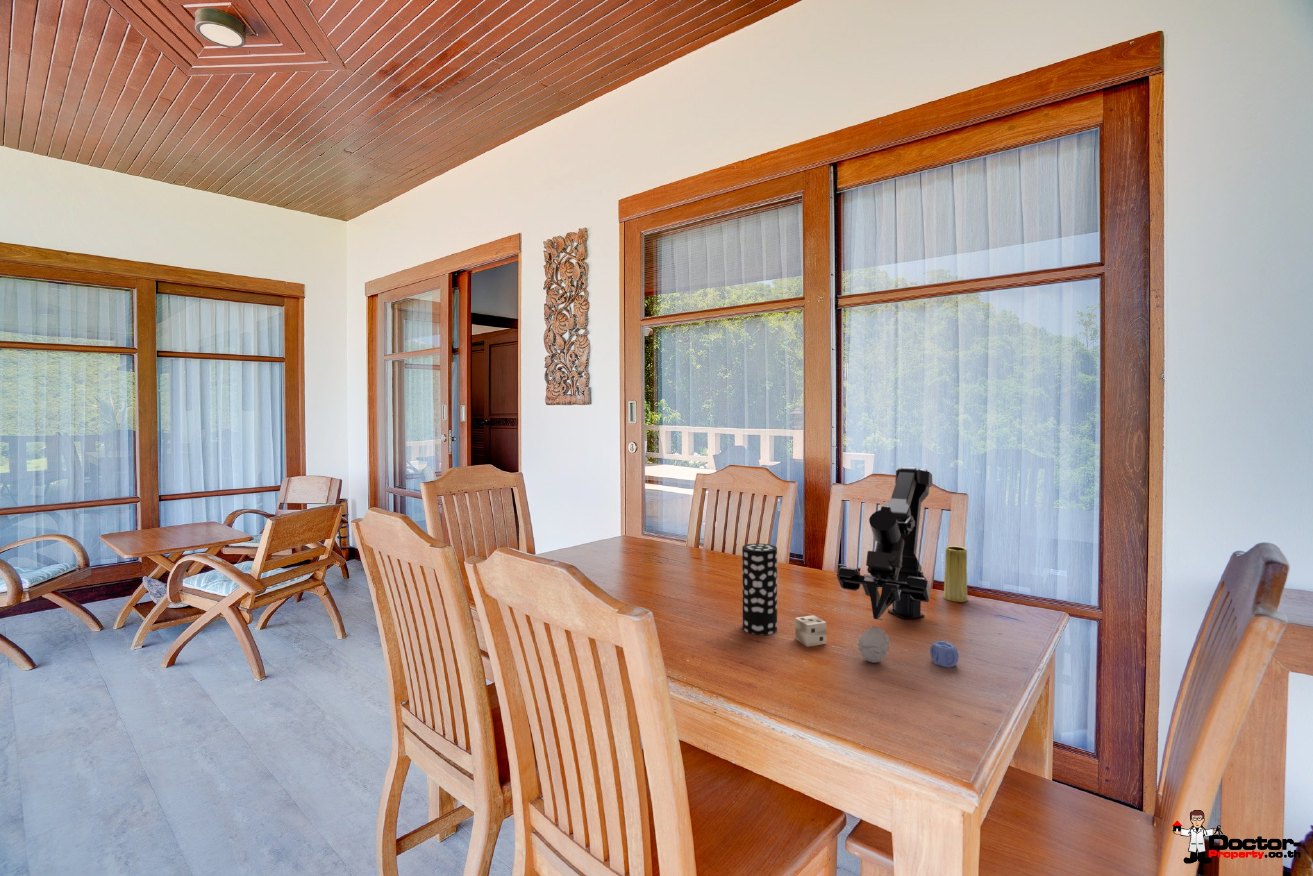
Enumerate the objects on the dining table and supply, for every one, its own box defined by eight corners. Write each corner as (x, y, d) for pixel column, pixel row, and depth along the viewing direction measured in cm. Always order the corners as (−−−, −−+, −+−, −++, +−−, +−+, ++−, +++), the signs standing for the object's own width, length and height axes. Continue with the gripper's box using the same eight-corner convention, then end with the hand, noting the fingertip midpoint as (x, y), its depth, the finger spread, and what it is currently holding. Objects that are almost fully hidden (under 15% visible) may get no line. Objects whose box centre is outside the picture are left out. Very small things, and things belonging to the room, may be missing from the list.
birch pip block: (795, 639, 136) (795, 617, 136) (813, 636, 138) (813, 614, 137) (807, 647, 131) (807, 624, 131) (826, 644, 133) (826, 622, 133)
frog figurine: (896, 662, 123) (896, 629, 123) (876, 670, 119) (876, 636, 119) (870, 652, 128) (871, 621, 128) (851, 660, 124) (851, 628, 124)
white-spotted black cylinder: (756, 637, 137) (756, 553, 136) (735, 626, 144) (735, 546, 143) (784, 631, 141) (784, 548, 140) (762, 620, 148) (762, 542, 147)
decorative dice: (948, 659, 124) (948, 640, 124) (958, 667, 120) (958, 648, 120) (929, 659, 124) (930, 641, 124) (939, 668, 120) (939, 648, 120)
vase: (965, 596, 165) (966, 546, 165) (969, 603, 159) (970, 551, 159) (942, 594, 167) (942, 545, 167) (945, 601, 161) (945, 550, 161)
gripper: (839, 531, 133) (823, 591, 125) (928, 540, 123) (918, 607, 114) (848, 558, 140) (834, 617, 131) (934, 569, 130) (924, 634, 121)
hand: (875, 618), depth 124 cm, fingers closed
